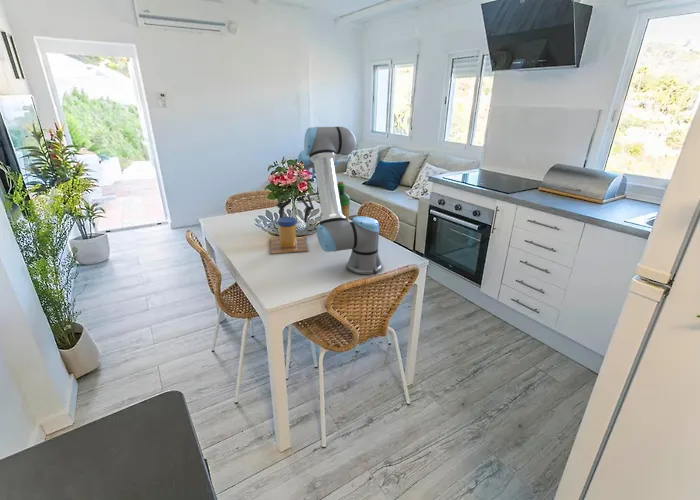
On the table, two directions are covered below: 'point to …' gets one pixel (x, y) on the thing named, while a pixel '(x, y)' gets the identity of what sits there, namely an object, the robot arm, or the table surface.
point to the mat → (278, 249)
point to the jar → (287, 236)
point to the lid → (286, 221)
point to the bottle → (344, 200)
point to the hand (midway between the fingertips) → (292, 219)
